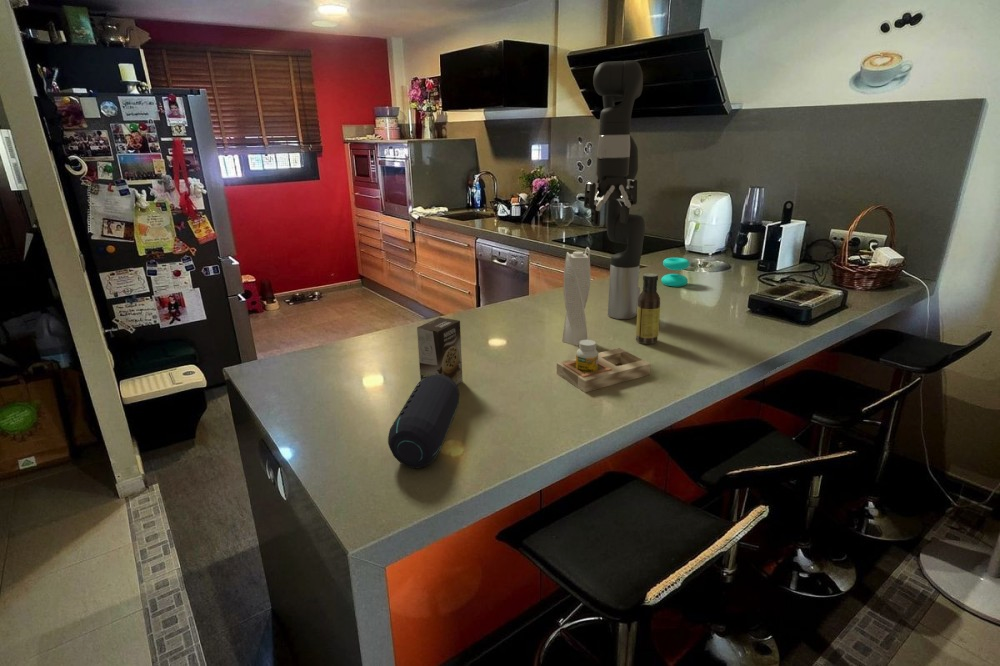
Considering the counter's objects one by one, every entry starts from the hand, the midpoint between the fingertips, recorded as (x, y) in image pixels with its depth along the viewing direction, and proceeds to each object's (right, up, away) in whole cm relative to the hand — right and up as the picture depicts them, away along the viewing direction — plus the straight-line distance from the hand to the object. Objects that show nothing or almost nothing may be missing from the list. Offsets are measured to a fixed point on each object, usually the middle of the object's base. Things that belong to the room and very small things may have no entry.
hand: (609, 224), depth 131 cm
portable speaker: (-42, -49, -23) cm, 68 cm away
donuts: (+43, -7, +81) cm, 92 cm away
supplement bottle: (-6, -38, +2) cm, 39 cm away
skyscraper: (-5, -30, +25) cm, 39 cm away
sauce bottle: (+16, -29, +24) cm, 41 cm away
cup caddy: (-1, -37, +3) cm, 37 cm away
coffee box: (-41, -40, -1) cm, 57 cm away
